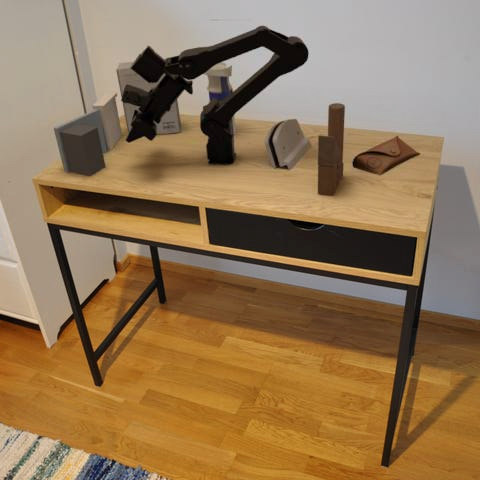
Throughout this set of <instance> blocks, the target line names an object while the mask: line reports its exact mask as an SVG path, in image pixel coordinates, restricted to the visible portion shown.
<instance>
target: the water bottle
mask: <svg viewBox="0 0 480 480" xmlns="http://www.w3.org/2000/svg"><path fill="white" fill-rule="evenodd" d="M232 69H233V65H230V66H228V67H227V63H225V62H224V61H223V62H221V63H218V64H216V65H215V66H213V67H212V68H211V69H209V70H208V71H207V72H205V73H204V74H203V75H205V76H207V80H208V84H207V85H208V86H206V90H207V92H208V98H209V100H208V104H209V103H210V102H211V100H212V99H213V98H214V97H215V98H216V99H217V101H220V100H223V99H225V98H227V97H228V96H229V95H230V94H231V93H232V92H234V91H235V90H234V89H233V86H232V84H231V83H230V82H231V81H230V77H233V74H232ZM230 123H231V130H232V135H234V136H235V135H236V134H237V128H236V121H235V115H234V116H233V118H232V119H231V121H230Z"/></svg>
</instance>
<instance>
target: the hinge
mask: <svg viewBox="0 0 480 480" xmlns="http://www.w3.org/2000/svg"><path fill="white" fill-rule="evenodd" d="M298 121H299V120H298V119H296V118H289V119H286V120H281V121H279V122H277V123H276V124H275V125H273V126H272V127H271V128H270V129H269V130H268V132H267V134H266V137H265V139H264V146H265V149H266V153H267V155H268V156H267V157H268V159H269V164H270V166H271V169H275V168H277V167H278V166H279V167H281V168H282V167H284V166H287V169H288V171H291V170H292V169H293V168H294V167H295V165H297V163H298V162H300V159H302V157H303V156H304V155H305V154H306V152H307V151H308V150H309V149H310V148H311V147H312V144H311V142H310V141H311V140H310V139H309V138H308V137H305V135H304V133H303V131H302V127H301V126H300V123H299V122H298Z"/></svg>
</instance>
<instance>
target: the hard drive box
mask: <svg viewBox="0 0 480 480" xmlns="http://www.w3.org/2000/svg"><path fill="white" fill-rule="evenodd" d="M163 59H164V60H165V59H166V58H163ZM133 63H134V61H129V62H120V63H119V64H118V65H117V66H116V67H117V68H116V69H115V71H116V75H117V80H118V82H117V83H118V87H119V91H120V92H119V93H120V97H121V98H122V95H123V91H124V88H125V86H126V85H127V84H128V85H131V86H134V87H137V88H140V89H143V90H144V91H147V92H149V91H150V90H151V89H153V88H155V87H156V86H157V85H158V83H159V82H160V81H161V80H162V78H163V77H164V76H165V75H166V74H165V73H164V74H163V75H162V76H161V78H160V79H159V80H158V81H157V82H156V83H155V82H154V83H152V82H151V83H148V82H147V81H146V80H144V79H143V78H142V77H141V76H139V75H138V74H137V73H135V72H134V71H133V70H132V69H130V68H131V66H132V64H133ZM122 108H123V111H124V112H123V113H124V117H125V123H126V128H127V135H128V134H129V132H130V130H131V128H132V126H131V122H132V118H133V115H134V111H135V110H137V111H139V110H138V109H139V107H138V106H135V105H132V104H129V103H124V102H122ZM154 123H155V124H156V125H157V135H169V134H176V133H177V134H178V133H180V132H181V129H182V123H181V115H180V108H179V101H178V99H177V100H176V101H175V102H174V103H173V105H172V106H171V109H170V111H169V112H168V111H167V112H166V113H165V114H164V116H163V117H162V118H161V122H160V123H159V124H157V123H156V122H155V121H154Z"/></svg>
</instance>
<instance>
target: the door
mask: <svg viewBox="0 0 480 480" xmlns="http://www.w3.org/2000/svg"><path fill="white" fill-rule="evenodd" d="M76 124H80V125H86V126H92V127H98V132H99V137H100V142H101V147H102V152H103V154H105V153H108V152H109V150H108V146H107V141H106V136H105V131H104V126H103V121H102V116H101V111H100V109H95V110H94V109H93V110H91V111H89V112H86V113H83V114H81V115H79V116H77V117H75V118H72V119H71V120H68V121H66V122H64V123H61V124H59V125H57V126H55V127H53V131H54V136H55V139H56V140H55V141H56V144H57V148H58V151H59V156H60V159H61V164H62V167H63V171H64V172H65V173H69V172H70V170H69V166H68V162H67V158H66V154H65V150H64V146H63V142H62V137H61V133H60V132H61V131H63V130H65V129H68V128H70V127H72V126H74V125H76ZM64 172H63V173H64Z"/></svg>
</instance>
